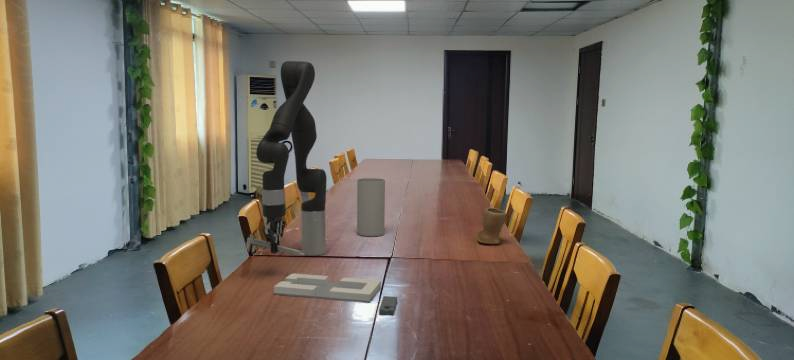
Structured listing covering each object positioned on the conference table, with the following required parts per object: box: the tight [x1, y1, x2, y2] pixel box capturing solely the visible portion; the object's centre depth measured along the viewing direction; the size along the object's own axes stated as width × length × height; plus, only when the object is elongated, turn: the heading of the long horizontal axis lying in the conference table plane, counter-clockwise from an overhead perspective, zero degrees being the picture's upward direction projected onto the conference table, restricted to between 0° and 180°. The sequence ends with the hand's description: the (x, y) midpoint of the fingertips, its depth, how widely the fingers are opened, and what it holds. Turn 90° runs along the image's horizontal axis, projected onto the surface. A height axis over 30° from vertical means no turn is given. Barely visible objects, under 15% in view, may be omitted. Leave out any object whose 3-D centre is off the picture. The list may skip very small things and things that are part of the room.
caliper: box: [246, 233, 306, 257], centre depth 185 cm, size 21×1×6 cm, turn 78°
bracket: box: [378, 295, 398, 317], centre depth 156 cm, size 4×11×2 cm, turn 175°
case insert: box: [273, 272, 382, 304], centre depth 170 cm, size 14×30×2 cm, turn 78°
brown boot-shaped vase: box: [475, 207, 507, 245], centre depth 238 cm, size 15×12×15 cm
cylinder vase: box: [356, 177, 386, 238], centre depth 249 cm, size 12×12×25 cm
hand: (275, 252), depth 186 cm, fingers closed on caliper, 1 cm apart
